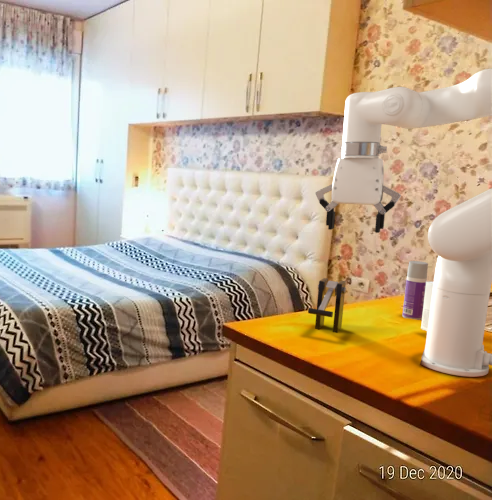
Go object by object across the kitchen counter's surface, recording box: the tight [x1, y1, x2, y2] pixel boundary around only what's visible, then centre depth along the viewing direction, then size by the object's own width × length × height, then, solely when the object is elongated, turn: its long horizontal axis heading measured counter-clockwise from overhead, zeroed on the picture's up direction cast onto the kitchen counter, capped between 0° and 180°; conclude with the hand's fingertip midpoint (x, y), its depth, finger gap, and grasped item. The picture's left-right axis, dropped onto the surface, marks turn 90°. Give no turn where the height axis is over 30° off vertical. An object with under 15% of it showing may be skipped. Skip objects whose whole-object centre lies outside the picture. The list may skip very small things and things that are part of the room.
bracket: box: [314, 277, 347, 334], centre depth 119 cm, size 10×8×13 cm
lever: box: [307, 280, 339, 318], centre depth 115 cm, size 12×5×2 cm, turn 148°
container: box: [401, 260, 429, 321], centre depth 136 cm, size 5×5×15 cm
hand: (353, 230), depth 113 cm, fingers open, 9 cm apart
